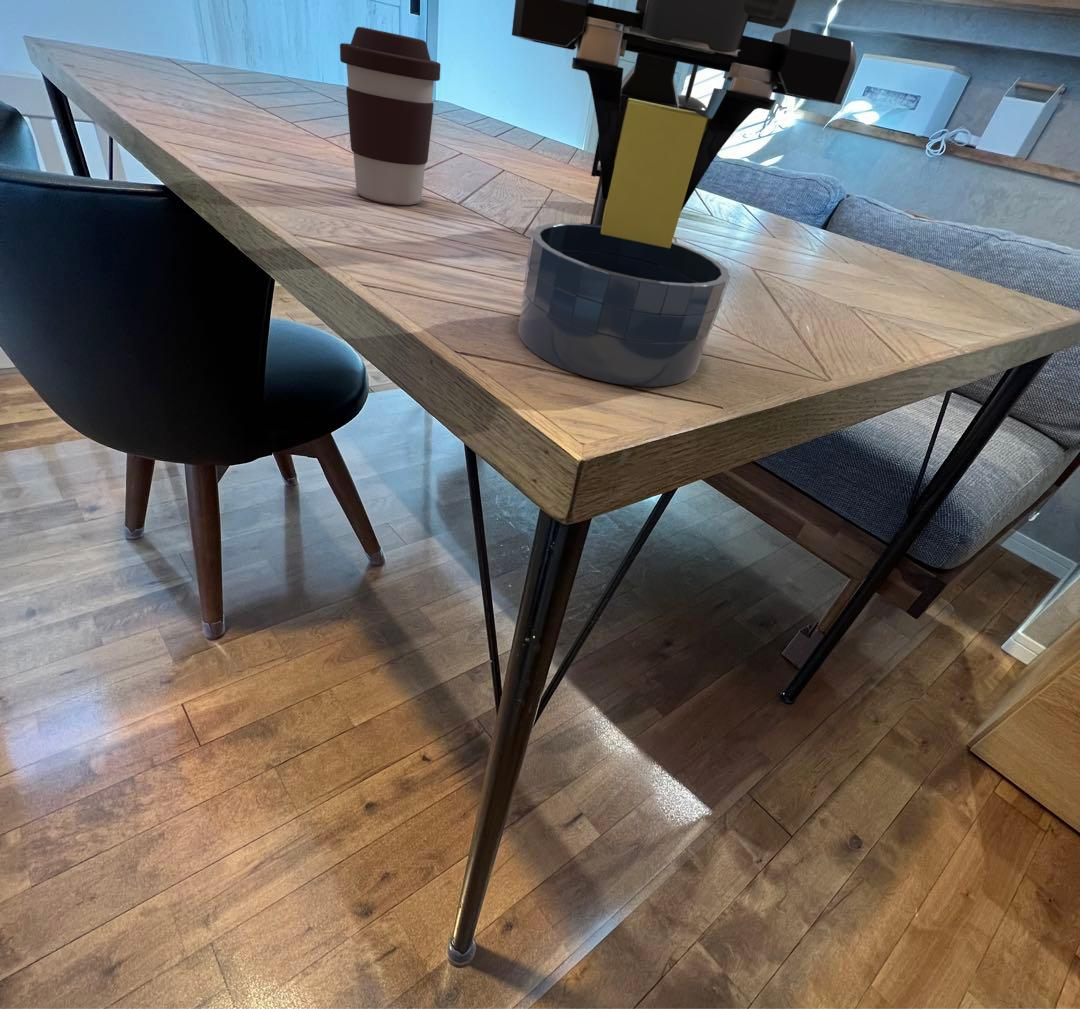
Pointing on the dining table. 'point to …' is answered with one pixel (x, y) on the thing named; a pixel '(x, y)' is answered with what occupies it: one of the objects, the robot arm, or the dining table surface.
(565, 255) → the bowl
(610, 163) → the robot arm
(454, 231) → the dining table surface
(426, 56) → the coffee cup
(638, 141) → the sponge
